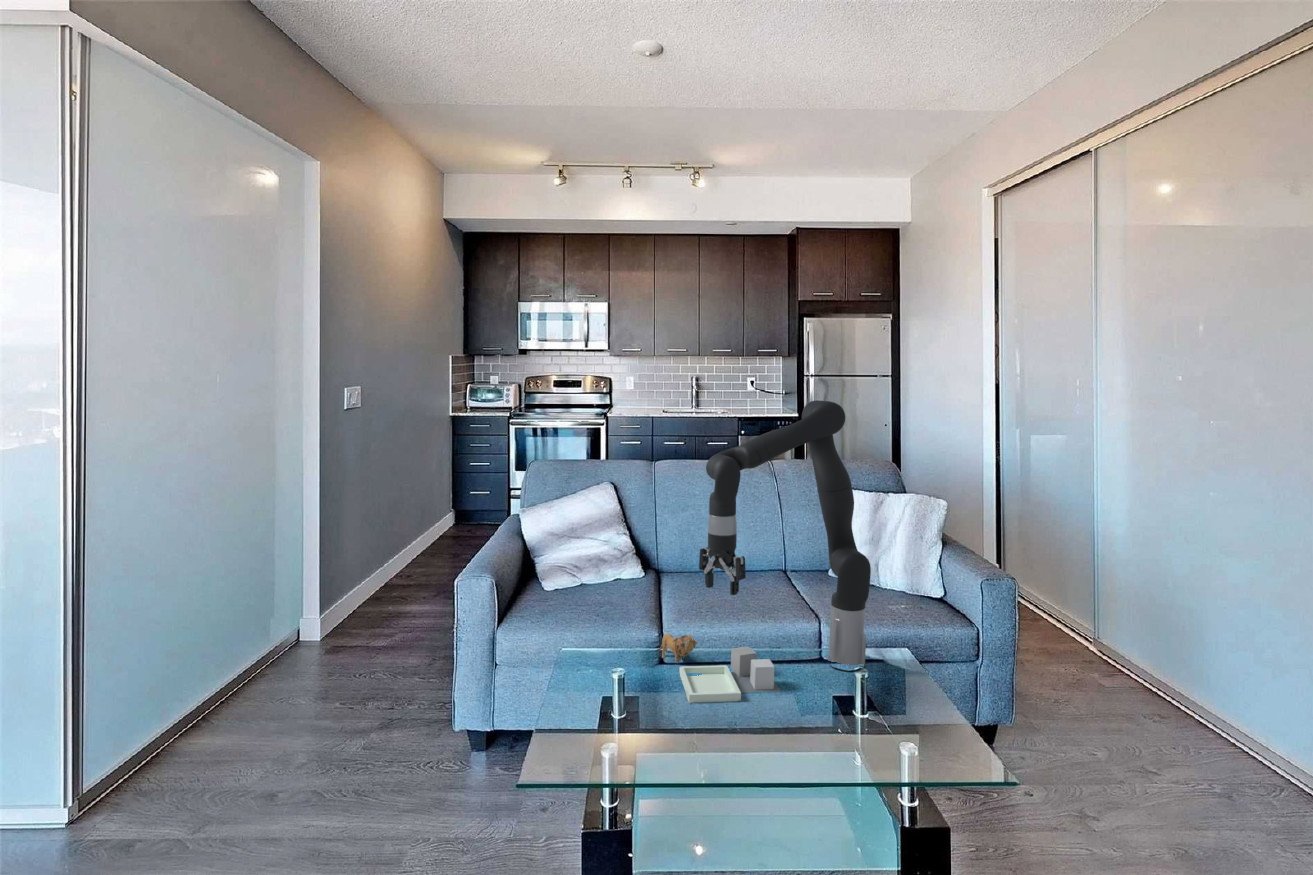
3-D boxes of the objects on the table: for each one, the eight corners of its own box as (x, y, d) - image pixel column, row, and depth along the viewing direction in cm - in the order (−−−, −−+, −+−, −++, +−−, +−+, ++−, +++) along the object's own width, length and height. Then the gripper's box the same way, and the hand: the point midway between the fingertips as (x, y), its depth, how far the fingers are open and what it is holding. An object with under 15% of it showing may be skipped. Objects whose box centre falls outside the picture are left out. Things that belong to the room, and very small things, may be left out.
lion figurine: (699, 666, 214) (700, 634, 213) (685, 671, 210) (686, 639, 209) (662, 650, 225) (662, 620, 224) (648, 655, 221) (649, 624, 220)
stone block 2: (768, 680, 204) (769, 659, 204) (773, 689, 200) (774, 666, 199) (750, 681, 204) (750, 659, 203) (754, 689, 199) (755, 667, 198)
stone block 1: (746, 667, 213) (747, 646, 212) (755, 674, 208) (756, 653, 208) (730, 669, 211) (731, 648, 210) (739, 676, 207) (740, 655, 206)
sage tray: (726, 673, 209) (727, 665, 209) (740, 702, 192) (741, 693, 192) (679, 675, 208) (679, 666, 207) (689, 704, 191) (689, 694, 191)
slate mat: (764, 667, 214) (765, 666, 214) (780, 693, 198) (780, 691, 198) (725, 668, 213) (726, 667, 213) (738, 694, 197) (738, 692, 197)
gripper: (752, 533, 200) (751, 593, 202) (711, 524, 210) (711, 581, 212) (733, 538, 195) (732, 600, 197) (692, 528, 205) (692, 587, 207)
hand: (721, 590), depth 204 cm, fingers open, 8 cm apart
